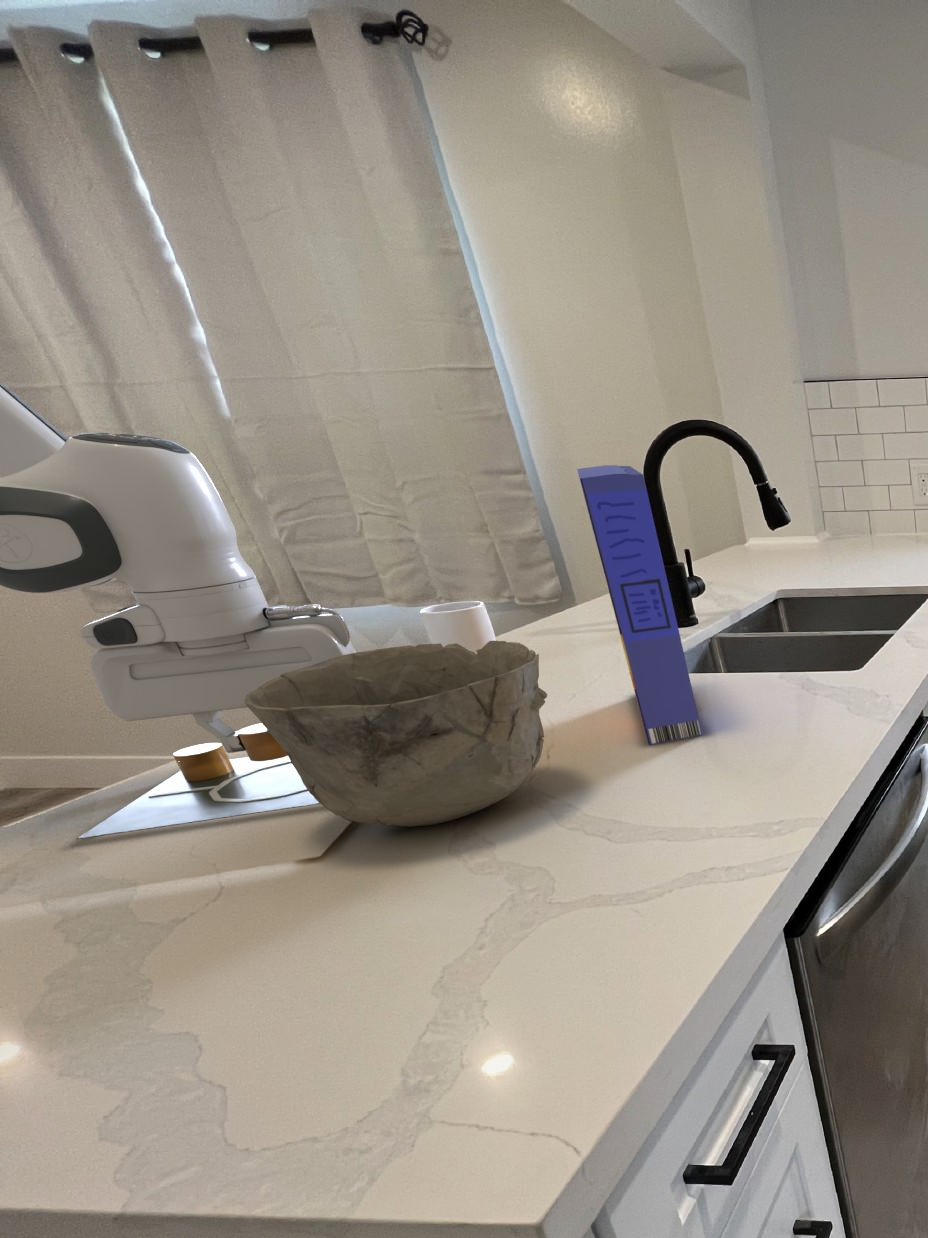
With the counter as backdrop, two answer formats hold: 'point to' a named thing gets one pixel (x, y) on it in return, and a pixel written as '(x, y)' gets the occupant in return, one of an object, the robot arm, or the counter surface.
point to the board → (212, 797)
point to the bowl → (409, 729)
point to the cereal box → (641, 600)
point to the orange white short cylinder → (260, 743)
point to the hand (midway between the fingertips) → (271, 746)
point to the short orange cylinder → (203, 762)
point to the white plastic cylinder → (459, 624)
